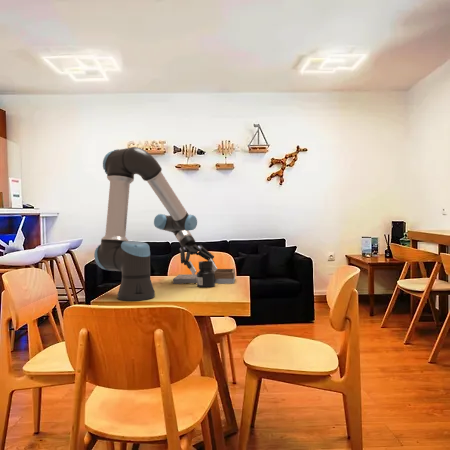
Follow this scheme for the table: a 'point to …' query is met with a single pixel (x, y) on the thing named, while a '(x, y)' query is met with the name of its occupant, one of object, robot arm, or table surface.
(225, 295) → the table surface
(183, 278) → the hinge
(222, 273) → the holder
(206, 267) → the ink bottle
